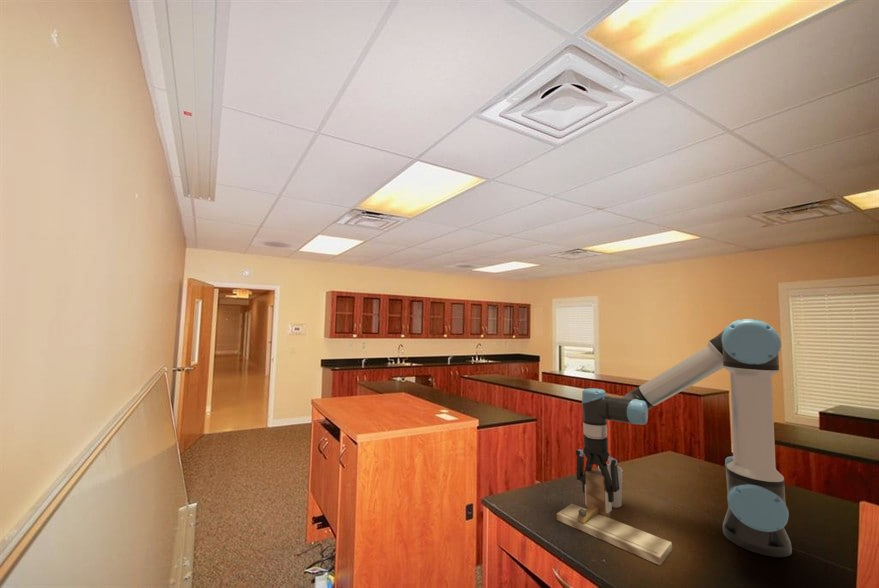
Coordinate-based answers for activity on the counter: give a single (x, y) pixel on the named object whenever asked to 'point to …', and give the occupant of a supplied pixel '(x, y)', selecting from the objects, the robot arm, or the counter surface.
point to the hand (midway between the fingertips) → (598, 507)
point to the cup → (618, 494)
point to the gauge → (594, 496)
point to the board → (618, 534)
